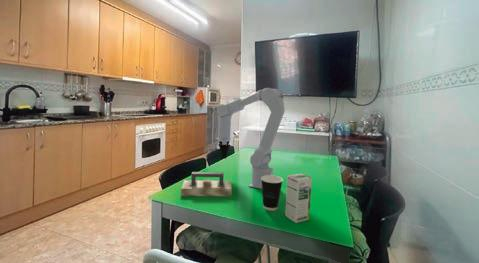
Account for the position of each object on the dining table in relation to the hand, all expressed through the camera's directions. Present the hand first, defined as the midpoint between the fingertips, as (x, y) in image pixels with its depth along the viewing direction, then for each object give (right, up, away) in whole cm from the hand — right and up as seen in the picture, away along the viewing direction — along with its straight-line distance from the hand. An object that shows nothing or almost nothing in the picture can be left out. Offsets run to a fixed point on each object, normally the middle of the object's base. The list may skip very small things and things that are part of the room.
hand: (223, 156), depth 122 cm
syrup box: (+27, -17, -39) cm, 51 cm away
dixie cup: (+19, -16, -32) cm, 40 cm away
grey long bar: (-6, -9, -19) cm, 22 cm away
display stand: (-6, -13, -19) cm, 24 cm away
